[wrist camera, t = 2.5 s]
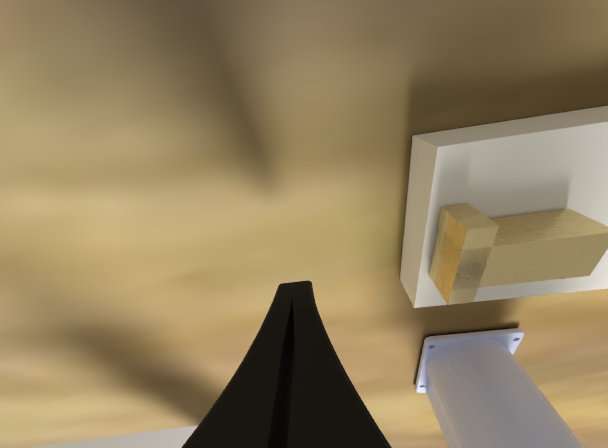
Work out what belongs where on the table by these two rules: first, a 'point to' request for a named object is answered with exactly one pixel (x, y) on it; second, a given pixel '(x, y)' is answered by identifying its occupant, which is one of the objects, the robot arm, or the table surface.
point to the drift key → (511, 249)
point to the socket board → (506, 189)
